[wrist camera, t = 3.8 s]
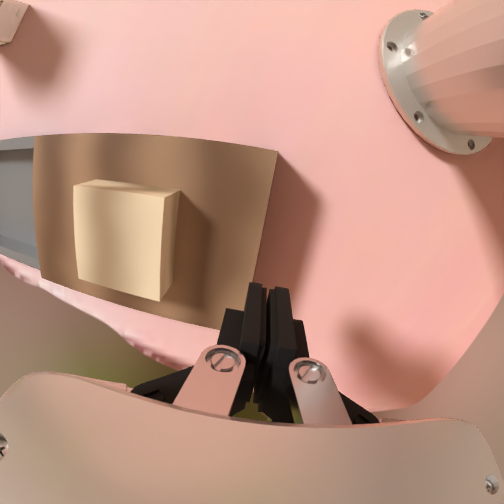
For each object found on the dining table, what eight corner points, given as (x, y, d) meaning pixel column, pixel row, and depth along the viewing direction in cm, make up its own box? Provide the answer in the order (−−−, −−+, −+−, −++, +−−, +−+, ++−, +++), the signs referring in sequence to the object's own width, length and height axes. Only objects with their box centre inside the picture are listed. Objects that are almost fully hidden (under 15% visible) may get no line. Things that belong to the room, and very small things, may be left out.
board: (276, 151, 17) (278, 151, 14) (246, 303, 22) (241, 334, 18) (66, 134, 17) (34, 136, 14) (66, 260, 22) (41, 277, 18)
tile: (180, 189, 15) (164, 197, 12) (172, 282, 17) (159, 301, 15) (96, 179, 15) (73, 185, 12) (97, 263, 17) (78, 278, 15)
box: (66, 134, 17) (43, 135, 15) (66, 260, 22) (48, 272, 19) (-9, 141, 17) (-27, 145, 15) (-6, 235, 22) (-21, 244, 19)
